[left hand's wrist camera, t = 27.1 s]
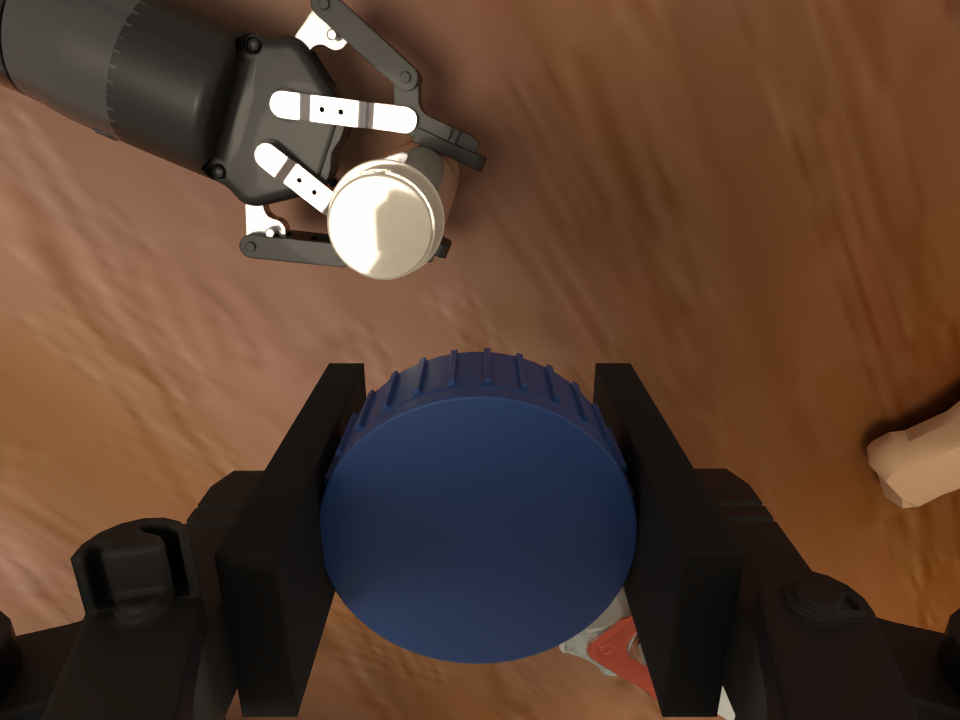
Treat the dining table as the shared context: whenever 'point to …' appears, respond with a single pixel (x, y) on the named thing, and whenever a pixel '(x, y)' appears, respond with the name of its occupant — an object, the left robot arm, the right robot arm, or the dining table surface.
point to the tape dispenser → (621, 649)
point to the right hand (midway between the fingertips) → (464, 207)
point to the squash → (919, 460)
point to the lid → (478, 510)
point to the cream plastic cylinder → (392, 211)
